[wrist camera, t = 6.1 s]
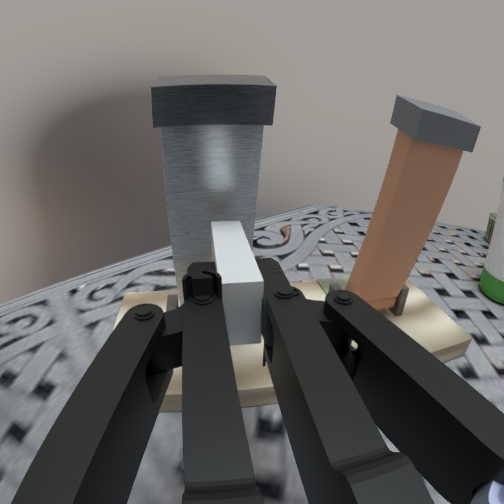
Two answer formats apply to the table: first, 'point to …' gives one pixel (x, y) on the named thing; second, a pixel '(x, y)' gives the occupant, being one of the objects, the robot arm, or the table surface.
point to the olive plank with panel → (490, 227)
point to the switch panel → (401, 314)
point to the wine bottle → (495, 259)
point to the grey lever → (210, 156)
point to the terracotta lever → (409, 196)
